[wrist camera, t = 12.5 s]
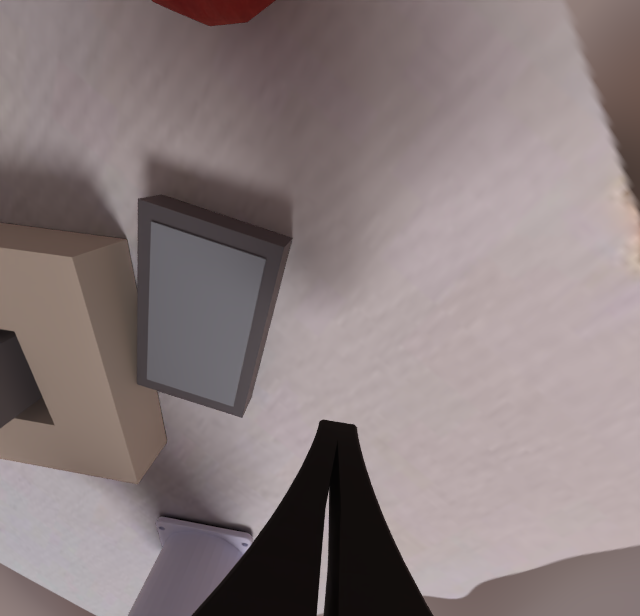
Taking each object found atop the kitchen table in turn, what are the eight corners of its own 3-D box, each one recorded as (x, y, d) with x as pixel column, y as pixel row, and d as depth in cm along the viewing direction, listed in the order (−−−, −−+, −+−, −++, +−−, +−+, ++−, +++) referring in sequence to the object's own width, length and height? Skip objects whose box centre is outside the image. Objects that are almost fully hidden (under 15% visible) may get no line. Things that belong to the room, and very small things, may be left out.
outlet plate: (167, 442, 20) (136, 486, 18) (-20, 409, 21) (-78, 446, 18) (126, 239, 14) (68, 258, 11) (-136, 204, 15) (-250, 215, 12)
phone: (253, 392, 18) (241, 418, 16) (159, 362, 18) (135, 385, 16) (294, 236, 14) (283, 247, 12) (167, 193, 13) (136, 199, 12)
